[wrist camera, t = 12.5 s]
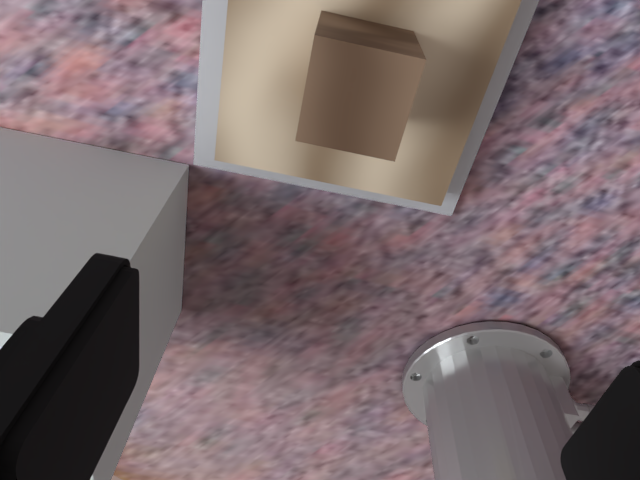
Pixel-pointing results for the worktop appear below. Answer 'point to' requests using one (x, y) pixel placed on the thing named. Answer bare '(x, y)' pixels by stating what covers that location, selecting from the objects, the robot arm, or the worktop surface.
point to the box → (91, 241)
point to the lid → (358, 88)
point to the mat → (205, 155)
